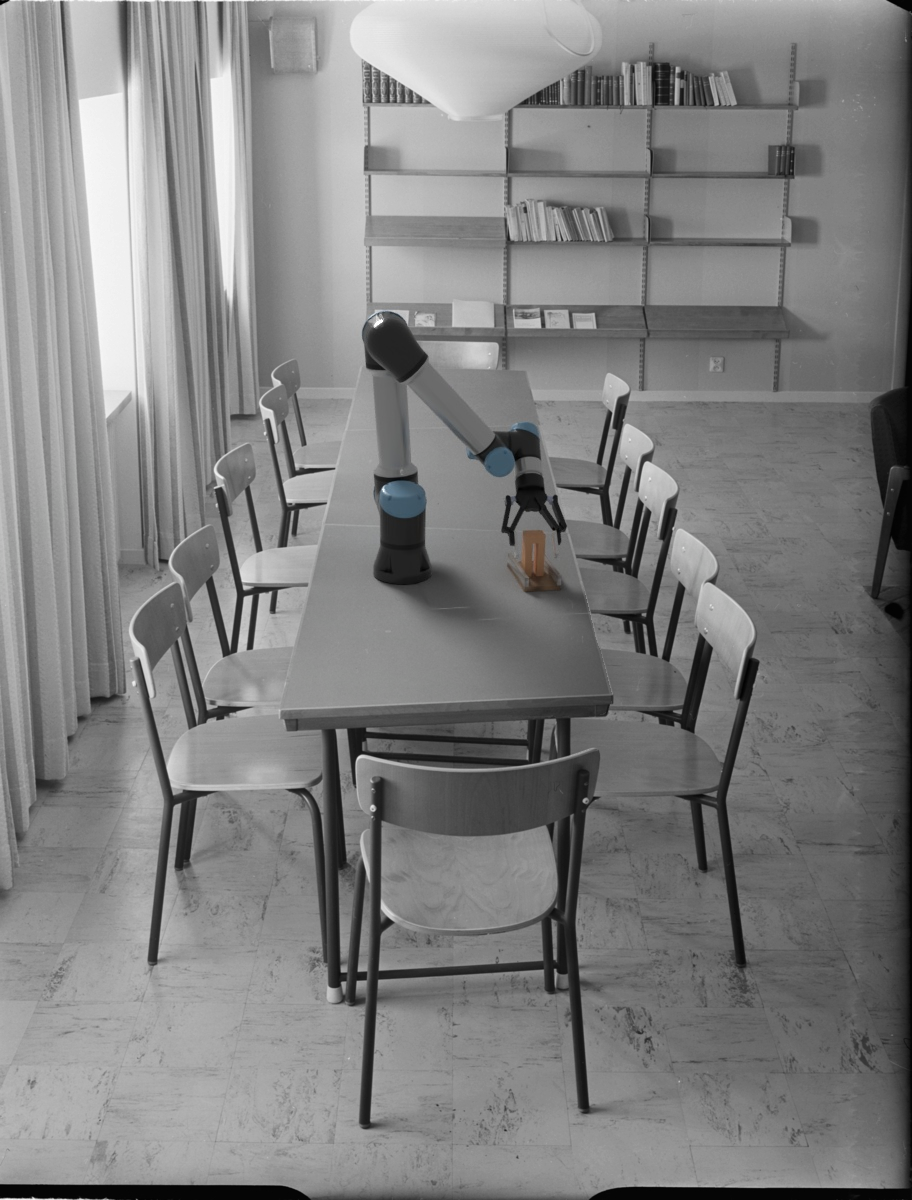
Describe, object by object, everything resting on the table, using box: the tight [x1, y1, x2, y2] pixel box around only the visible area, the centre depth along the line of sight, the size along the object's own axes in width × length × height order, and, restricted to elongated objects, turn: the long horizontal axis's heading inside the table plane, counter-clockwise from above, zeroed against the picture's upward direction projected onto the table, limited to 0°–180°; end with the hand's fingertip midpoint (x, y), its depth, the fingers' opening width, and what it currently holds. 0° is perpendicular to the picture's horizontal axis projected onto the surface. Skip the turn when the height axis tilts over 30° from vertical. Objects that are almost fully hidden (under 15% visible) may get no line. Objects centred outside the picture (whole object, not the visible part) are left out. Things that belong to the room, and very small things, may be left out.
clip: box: [521, 529, 547, 577], centre depth 306 cm, size 5×4×11 cm
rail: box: [506, 552, 563, 593], centre depth 308 cm, size 10×18×4 cm, turn 12°
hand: (536, 556), depth 303 cm, fingers open, 9 cm apart
